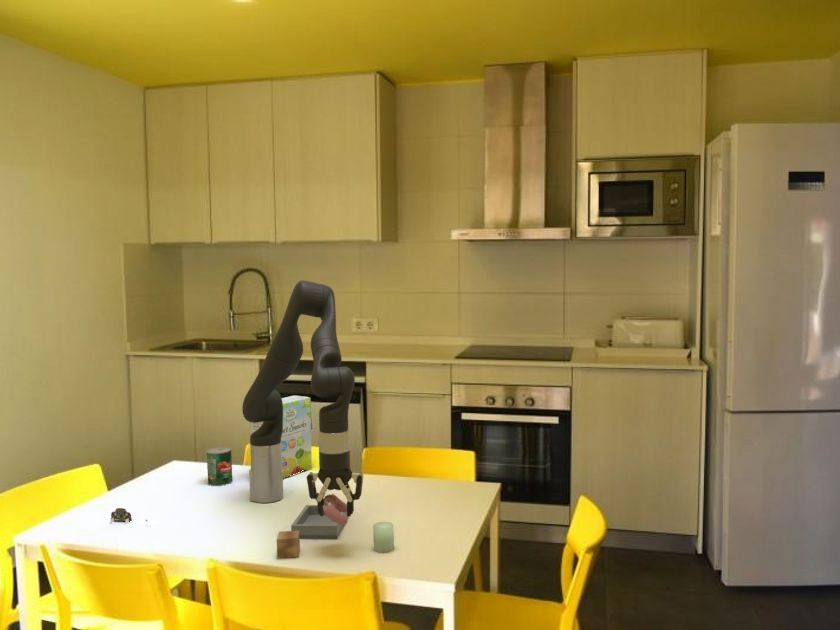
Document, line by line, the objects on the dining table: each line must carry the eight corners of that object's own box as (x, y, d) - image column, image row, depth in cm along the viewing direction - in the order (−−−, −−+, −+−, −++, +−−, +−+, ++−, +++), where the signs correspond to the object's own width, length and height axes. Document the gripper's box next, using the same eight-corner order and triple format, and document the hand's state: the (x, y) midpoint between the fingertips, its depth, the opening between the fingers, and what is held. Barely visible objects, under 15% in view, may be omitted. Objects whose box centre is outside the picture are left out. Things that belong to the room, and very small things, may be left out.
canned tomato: (228, 486, 234) (227, 452, 233) (204, 486, 234) (203, 453, 233) (235, 478, 242) (234, 446, 241) (212, 479, 242) (210, 447, 241)
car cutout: (103, 527, 200) (102, 511, 200) (117, 519, 207) (116, 504, 206) (152, 529, 198) (151, 513, 197) (165, 521, 204) (164, 505, 204)
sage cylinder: (372, 552, 177) (371, 528, 176) (375, 544, 182) (374, 521, 181) (392, 553, 176) (391, 529, 176) (395, 545, 181) (394, 521, 181)
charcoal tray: (291, 538, 187) (291, 525, 187) (306, 517, 203) (306, 504, 203) (337, 539, 186) (336, 525, 186) (348, 517, 202) (348, 505, 202)
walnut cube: (277, 559, 174) (276, 539, 174) (279, 551, 179) (278, 531, 179) (298, 558, 175) (297, 538, 174) (299, 550, 180) (299, 530, 179)
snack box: (269, 486, 233) (266, 407, 231) (250, 482, 238) (246, 405, 236) (314, 469, 251) (311, 396, 249) (295, 465, 256) (292, 394, 254)
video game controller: (334, 517, 183) (321, 493, 182) (350, 509, 183) (337, 485, 182) (331, 532, 173) (317, 507, 172) (348, 523, 173) (334, 498, 172)
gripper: (301, 452, 173) (303, 520, 174) (360, 452, 172) (362, 521, 173) (309, 444, 180) (311, 509, 182) (366, 444, 179) (367, 510, 180)
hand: (336, 515), depth 177 cm, fingers closed on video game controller, 6 cm apart
